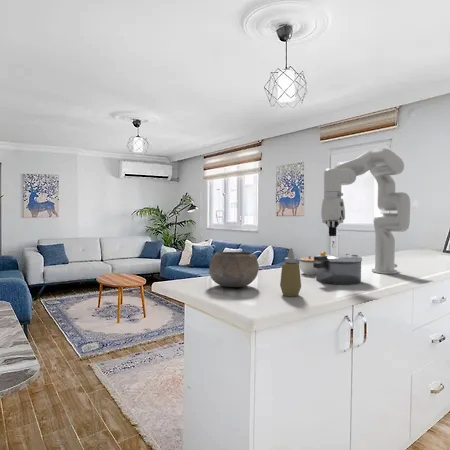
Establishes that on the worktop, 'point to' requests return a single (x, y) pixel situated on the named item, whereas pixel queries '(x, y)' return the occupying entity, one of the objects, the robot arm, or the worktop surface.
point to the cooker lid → (337, 258)
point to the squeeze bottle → (290, 276)
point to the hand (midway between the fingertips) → (332, 235)
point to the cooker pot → (338, 272)
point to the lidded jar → (307, 265)
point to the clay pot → (233, 268)
